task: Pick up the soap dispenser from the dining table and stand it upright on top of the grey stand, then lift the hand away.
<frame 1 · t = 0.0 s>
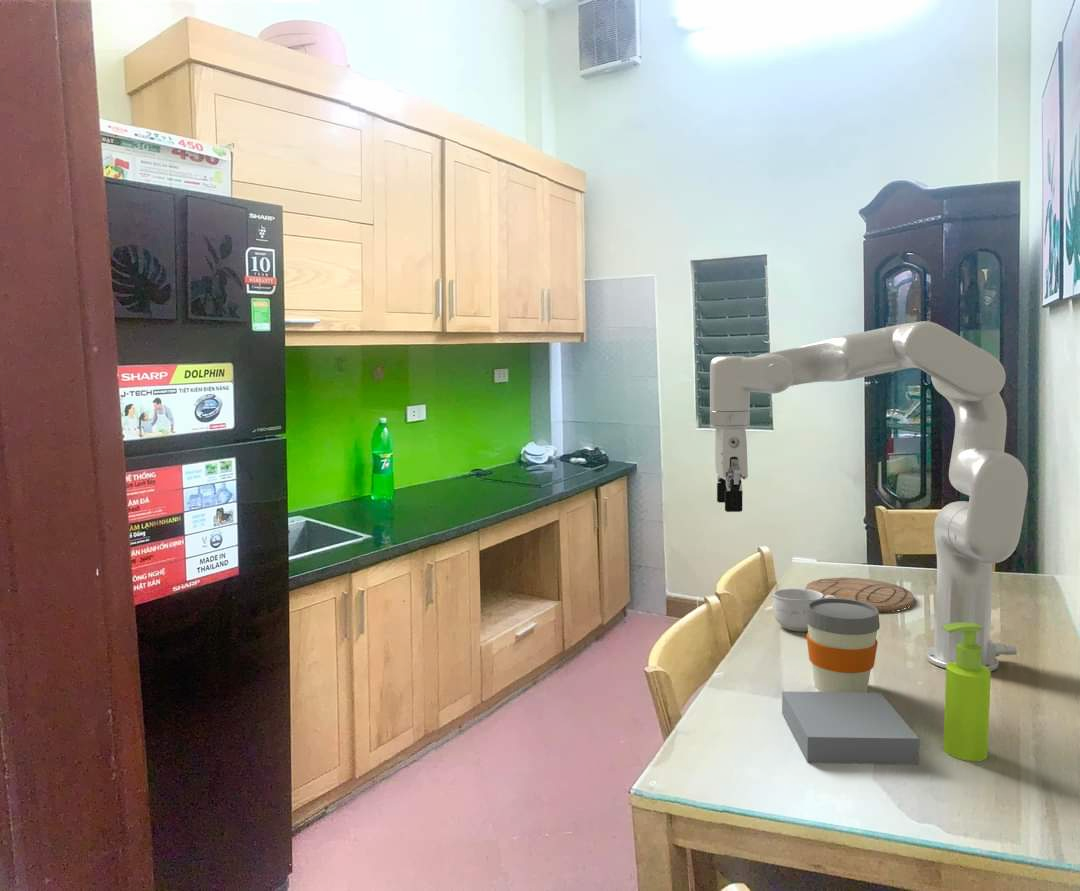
hand: (729, 506, 152), 31 cm above the table, tool pointing down, fingers open, 9 cm apart
teacup: (805, 629, 173), on the table
reusable coffee cup: (840, 688, 141), on the table
soap dispenser: (961, 753, 118), on the table
trivet: (858, 599, 194), on the table
stand: (845, 737, 123), on the table
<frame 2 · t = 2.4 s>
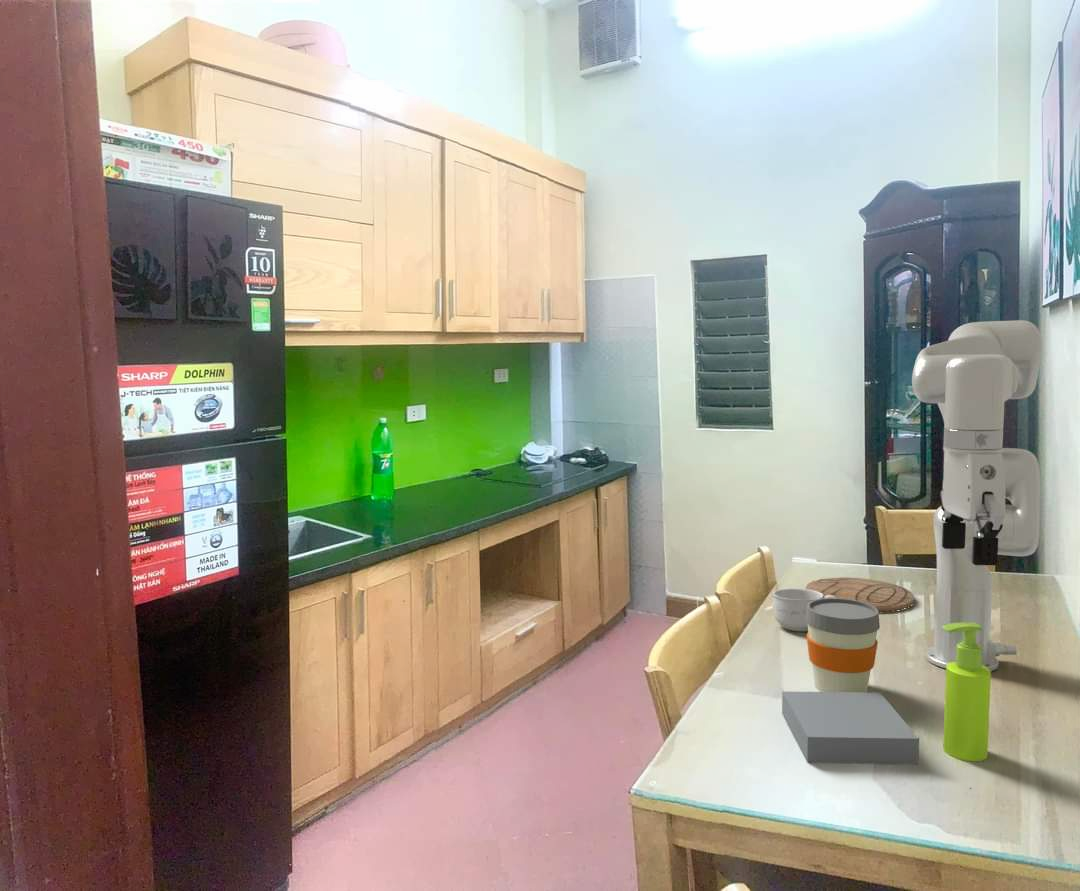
hand: (968, 556, 115), 30 cm above the table, tool pointing down, fingers open, 9 cm apart
nothing on the table moved.
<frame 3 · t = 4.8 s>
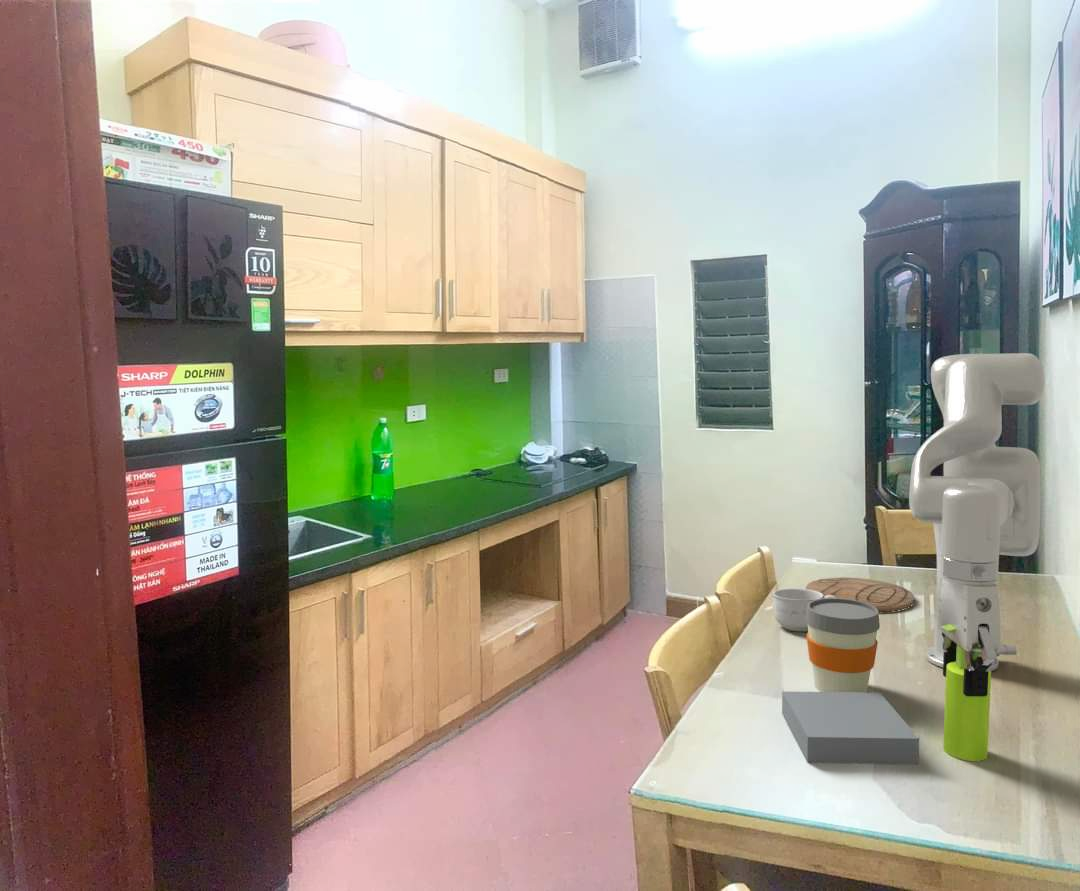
hand: (964, 684, 117), 11 cm above the table, tool pointing down, fingers closed on soap dispenser, 5 cm apart
soap dispenser: (961, 752, 118), on the table, touching gripper
everything else where it was.
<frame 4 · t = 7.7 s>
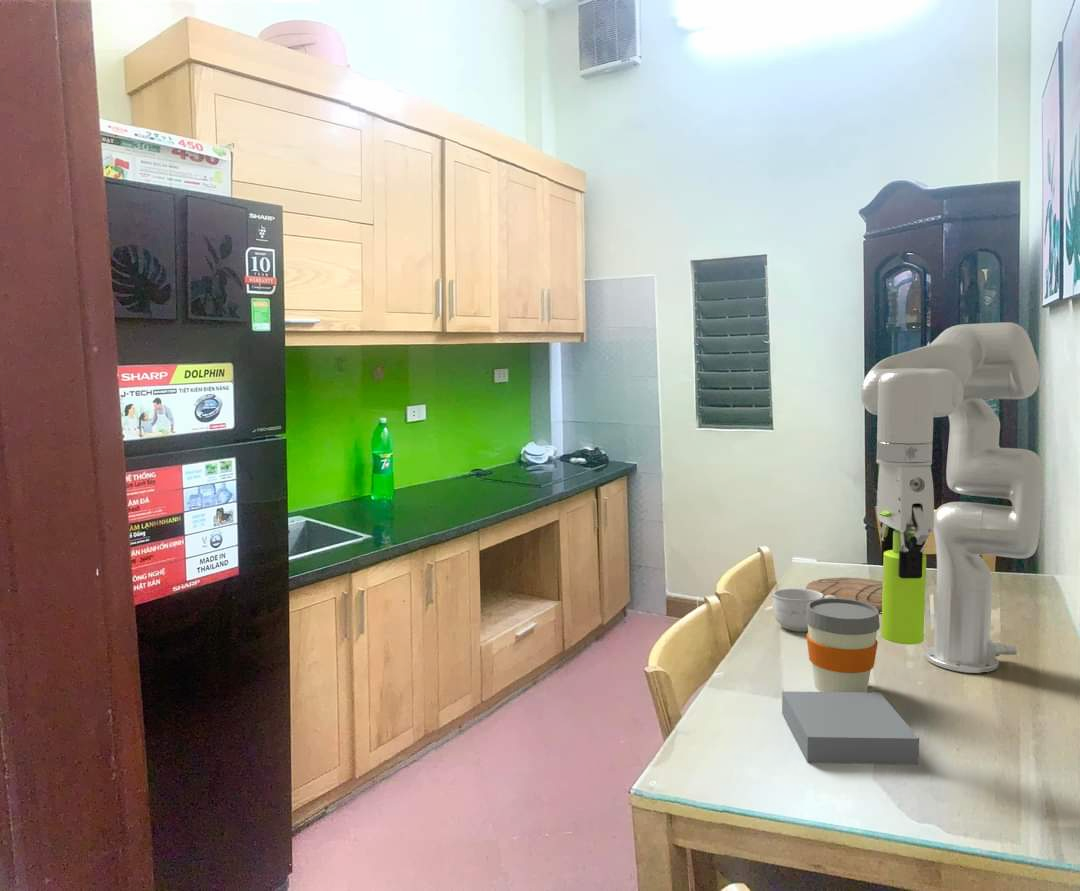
hand: (900, 570, 118), 28 cm above the table, tool pointing down, fingers closed on soap dispenser, 5 cm apart
soap dispenser: (898, 639, 119), point 17 cm above the table, touching gripper
everything else where it was.
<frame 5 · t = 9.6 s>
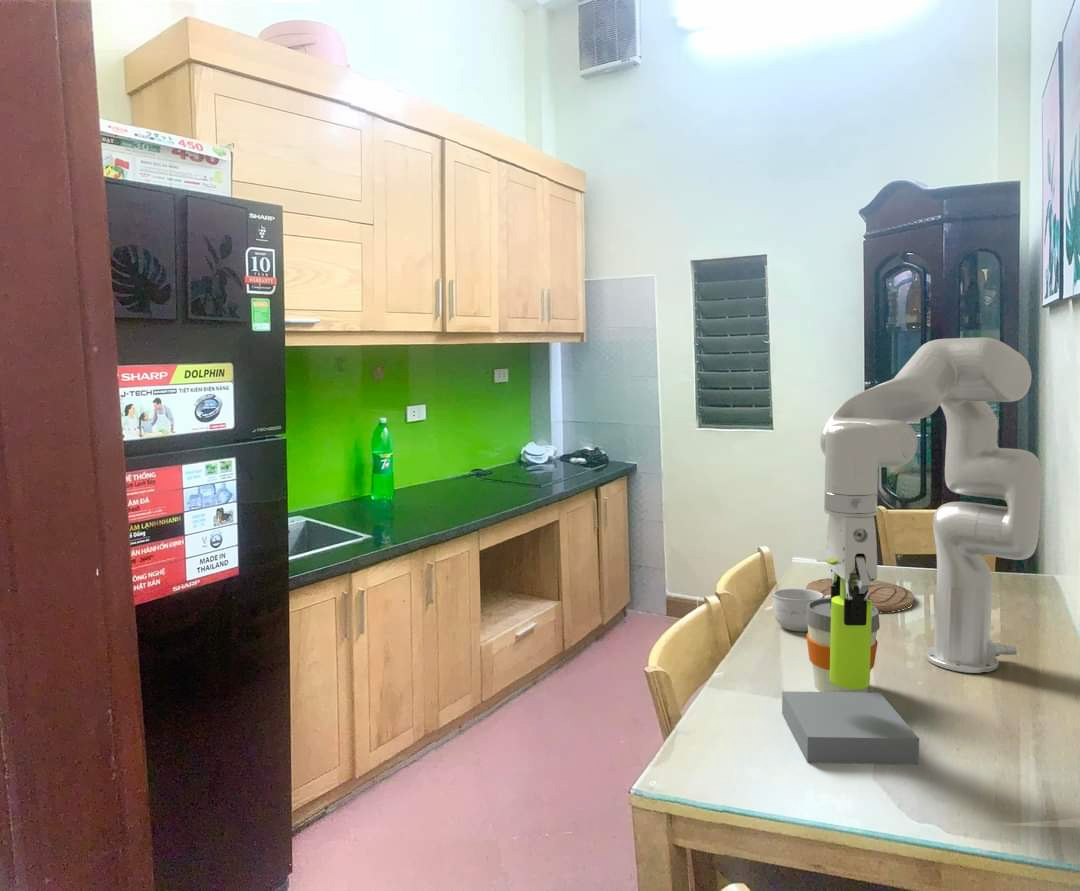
hand: (847, 616, 121), 20 cm above the table, tool pointing down, fingers closed on soap dispenser, 5 cm apart
soap dispenser: (846, 682, 122), point 9 cm above the table, touching gripper
everything else where it was.
when the fingers open (16 cm above the table, at t = 10.8 s): soap dispenser drops 1 cm, resting on stand.
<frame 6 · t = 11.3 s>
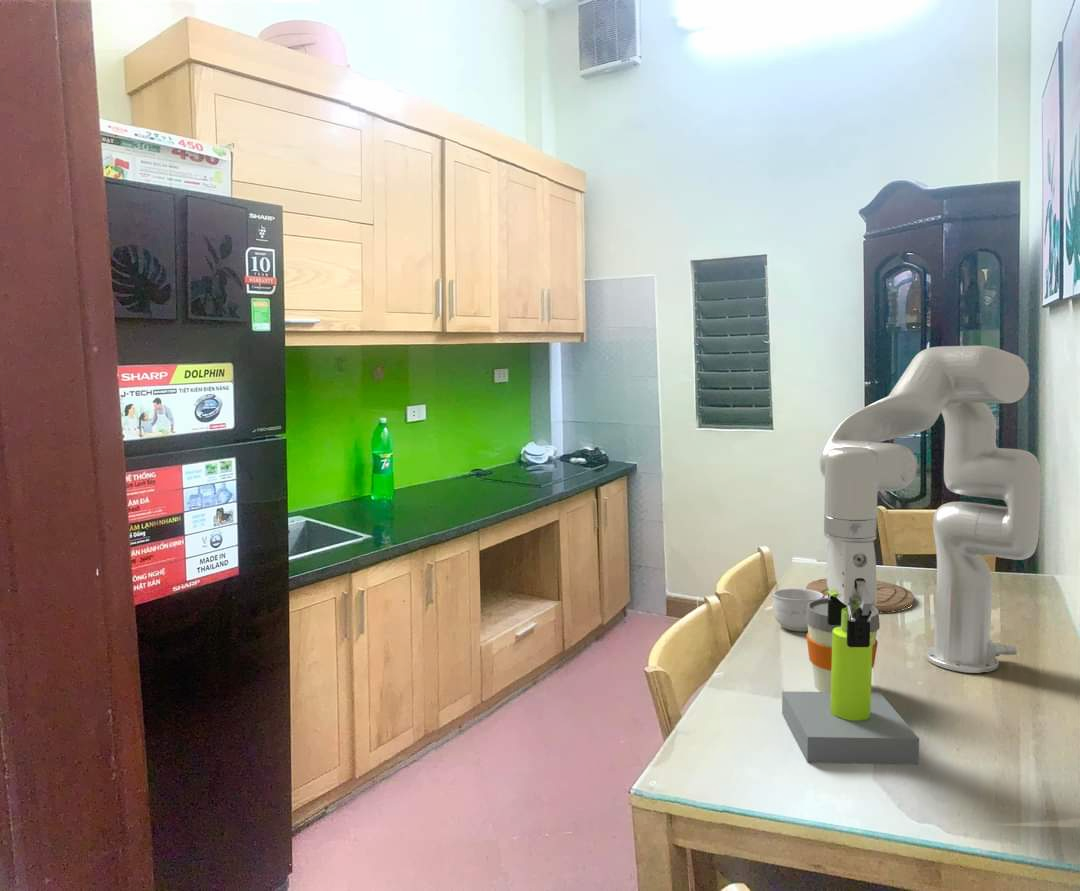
hand: (847, 635, 121), 17 cm above the table, tool pointing down, fingers open, 9 cm apart
soap dispenser: (846, 713, 123), point 4 cm above the table, touching stand
everything else where it was.
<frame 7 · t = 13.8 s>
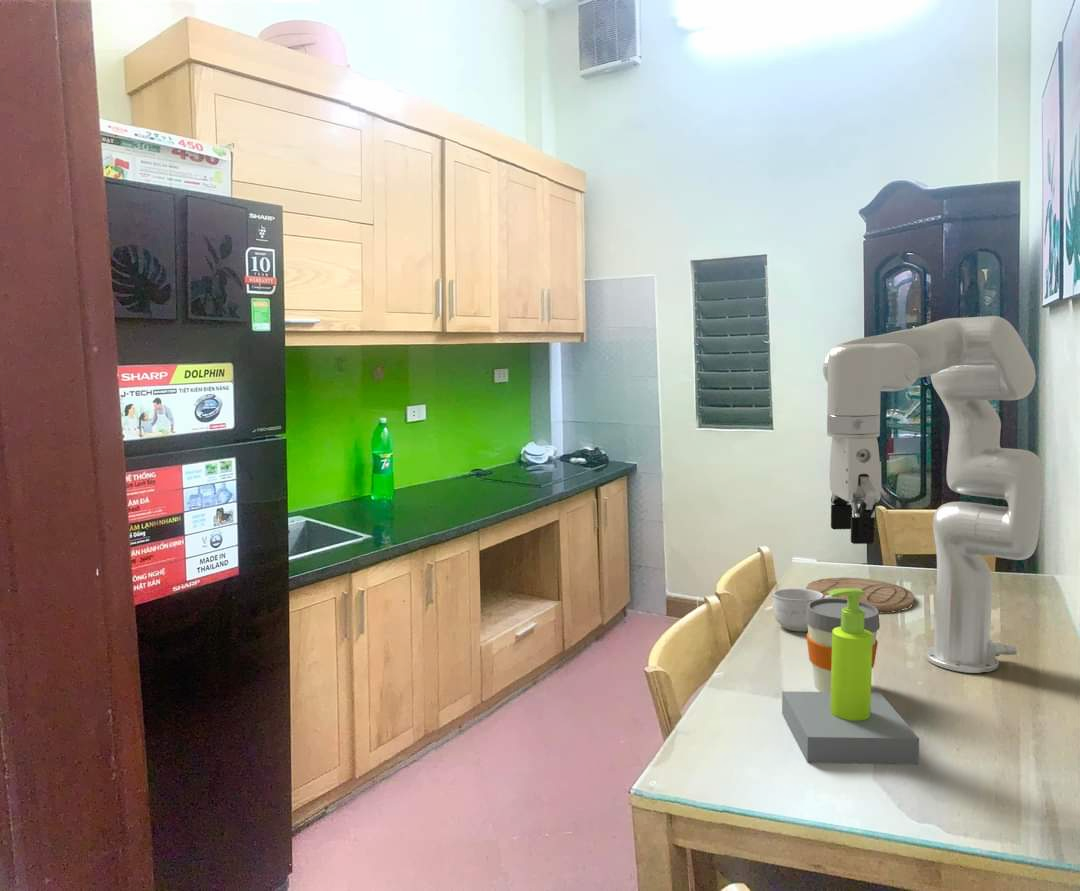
hand: (851, 535, 121), 32 cm above the table, tool pointing down, fingers open, 9 cm apart
nothing on the table moved.
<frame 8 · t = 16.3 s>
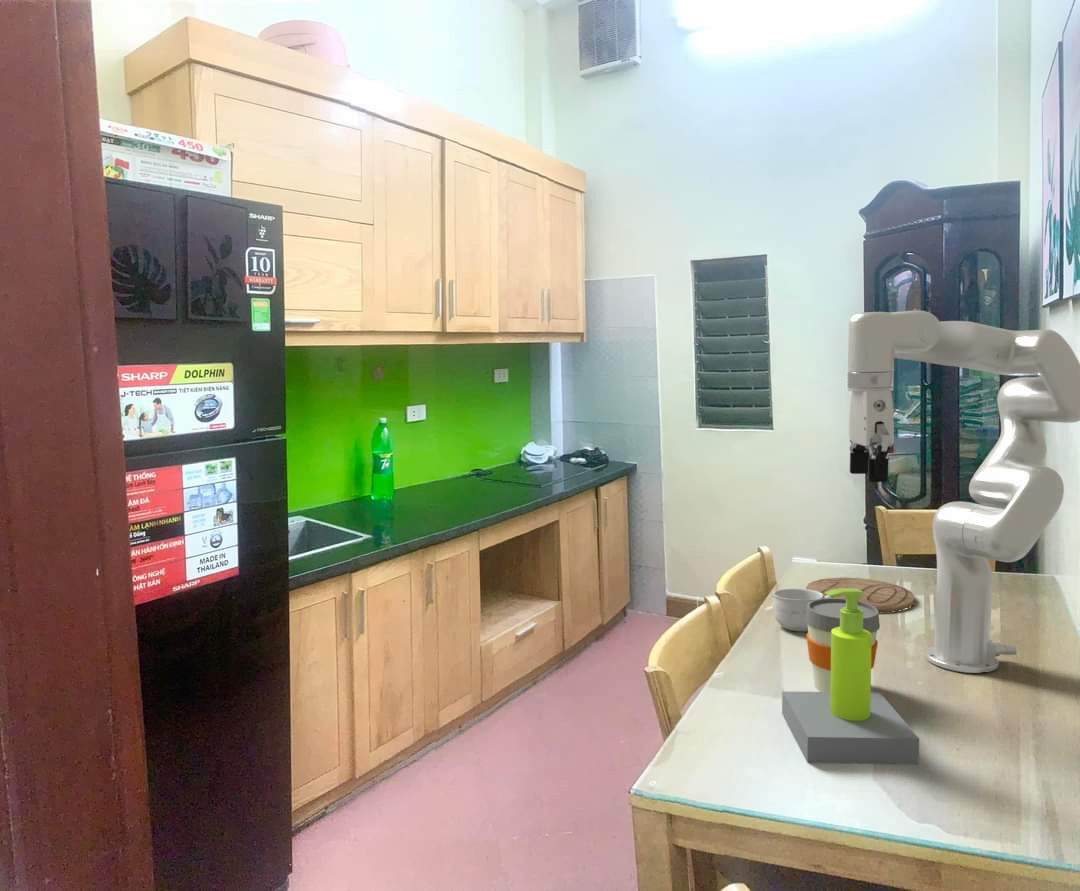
hand: (868, 477, 140), 38 cm above the table, tool pointing down, fingers open, 9 cm apart
nothing on the table moved.
at the end: soap dispenser inside the target area on the stand (0.2 cm from its centre), point 3.8 cm above the stand's base; soap dispenser tilted 0°; the gripper is holding nothing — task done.
